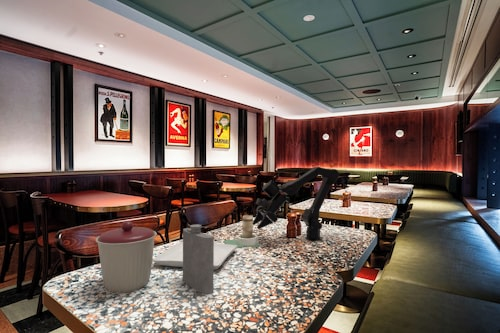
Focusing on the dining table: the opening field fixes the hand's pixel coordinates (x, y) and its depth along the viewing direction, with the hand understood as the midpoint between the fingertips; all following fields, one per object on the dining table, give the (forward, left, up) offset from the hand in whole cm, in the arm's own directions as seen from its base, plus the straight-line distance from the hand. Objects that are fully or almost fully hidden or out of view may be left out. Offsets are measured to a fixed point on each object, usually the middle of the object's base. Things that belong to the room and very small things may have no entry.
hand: (255, 226), depth 139 cm
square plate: (+32, +11, -9) cm, 35 cm away
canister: (+59, +26, -8) cm, 65 cm away
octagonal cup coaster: (+7, -1, -8) cm, 11 cm away
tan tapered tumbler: (+4, -1, -8) cm, 9 cm away
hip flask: (+39, +36, -8) cm, 54 cm away
